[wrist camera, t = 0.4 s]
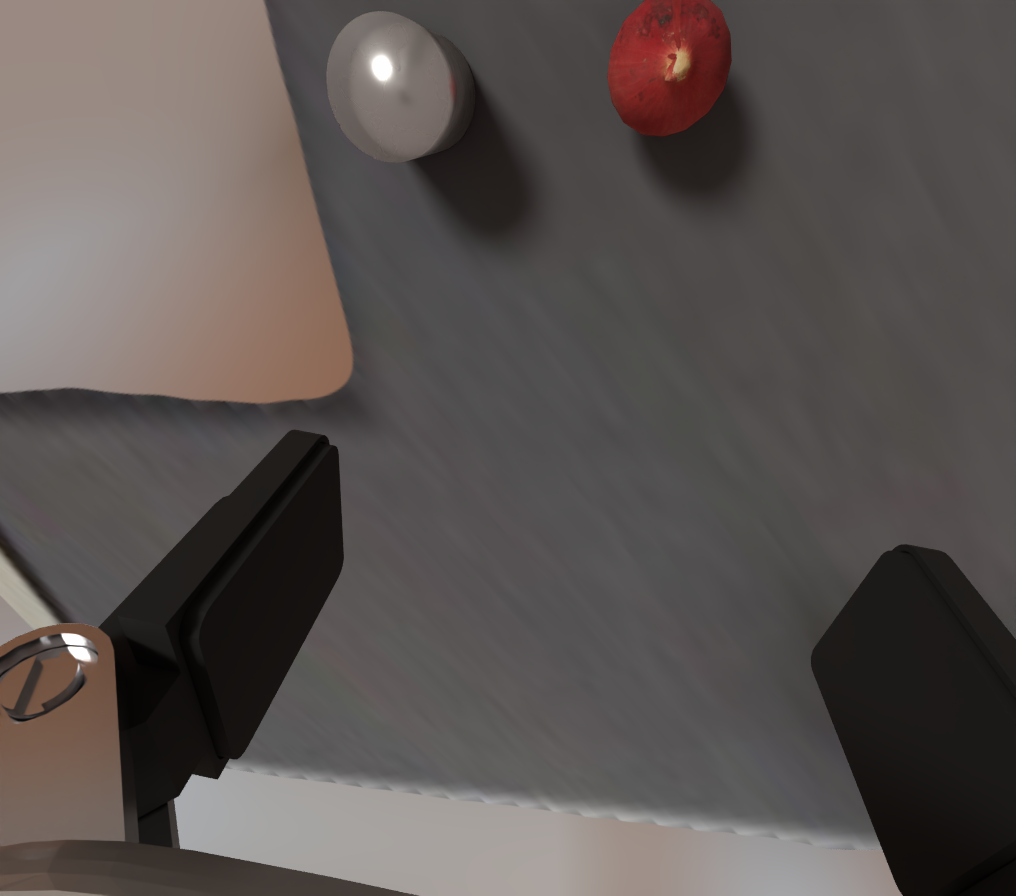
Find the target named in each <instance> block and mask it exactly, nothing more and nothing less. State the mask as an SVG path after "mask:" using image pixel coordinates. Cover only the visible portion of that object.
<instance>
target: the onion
mask: <svg viewBox="0 0 1016 896" xmlns="http://www.w3.org/2000/svg"><path fill="white" fill-rule="evenodd" d="M731 61H732V59H731V38H730V32H729V29H728V27H727V24H726V22H725V19H724V16H723V14H722V11H721V10H720V9H719V8H718V7H717V6H716V5H715V4H713V3H712V2H711V1H710V0H645V1H644V2H643V3H642V4H641V5H640V6H639V7H638V8H637V9H636V10H635V11H634V12H633V13H632V14H631V15H630V16H629V17H628V18H627V19H626V20H625V21H624V22H623V24H622V27H621V29H620V31H619V33H618V35H617V38H616V40H615V42H614V44H613V46H612V49H611V54H610V61H609V68H608V75H607V78H608V84H609V89H610V95H611V100H612V103H613V105H614V107H615V108H616V110H617V112H618V114H619V115H620V117H621V119H622V121H623V122H624V123H625V124H627V125H628V126H630V127H631V128H633V129H634V130H636V131H637V132H639V133H640V134H642V135H652V136H661V137H664V136H667V135H671V134H674V133H677V132H681V131H684V130H686V129H687V128H689V127H690V126H691V125H693V124H694V123H695V122H696V121H698V120H699V119H700V118H702V117H703V116H704V115H706V114H707V113H708V112H709V110H710V109H711V107H712V106H713V105H714V103H715V102H716V100H717V99H718V97H719V96H720V94H721V93H722V91H723V90H724V87H725V84H726V80H727V76H728V73H729V69H730V65H731Z"/></svg>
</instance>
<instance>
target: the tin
mask: <svg viewBox="0 0 1016 896" xmlns="http://www.w3.org/2000/svg"><path fill="white" fill-rule="evenodd" d="M327 91H328V96H329V101H330V105H331V108H332V111H333V113H334V116H335V118H336V120H337V122H338V124H339V126H340V128H341V129H342V131H343V132H344V134H345V135H346V136H347V137H348V139H349V140H350V141H351V142H352V143H353V144H354V145H355V146H356V147H357V148H359V149H360V150H361V151H363V152H364V153H366V154H367V155H369V156H371V157H373V158H375V159H378V160H381V161H385V162H393V163H395V162H405V161H409V160H413V159H416V158H420V157H424V156H427V155H431V154H434V153H438V152H441V151H444V150H447V149H448V148H450V147H452V146H453V145H455V144H456V143H457V142H458V141H459V140H460V139H461V138H462V137H463V135H464V134H465V133H466V131H467V129H468V128H469V126H470V123H471V121H472V118H473V114H474V109H475V100H476V94H475V84H474V79H473V76H472V72H471V70H470V67H469V65H468V63H467V61H466V59H465V57H464V56H463V54H462V53H461V52H460V50H459V49H458V48H457V47H456V46H455V45H454V44H453V43H452V42H451V41H449V40H448V39H446V38H445V37H443V36H441V35H439V34H437V33H435V32H433V31H431V30H429V29H427V28H425V27H423V26H421V25H419V24H417V23H415V22H413V21H411V20H409V19H407V18H405V17H403V16H401V15H398V14H395V13H391V12H385V11H376V12H370V13H366V14H363V15H361V16H359V17H357V18H355V19H354V20H352V21H351V22H349V23H348V24H347V25H346V26H345V27H344V28H343V30H342V31H341V32H340V34H339V35H338V37H337V38H336V40H335V42H334V44H333V47H332V49H331V52H330V55H329V59H328V65H327Z"/></svg>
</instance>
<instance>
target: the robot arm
mask: <svg viewBox="0 0 1016 896" xmlns="http://www.w3.org/2000/svg"><path fill="white" fill-rule="evenodd" d="M343 560H344V552H343V532H342V513H341V493H340V473H339V454H338V449H337V447H336V446H333V445H330V444H329V440H328V438H327V437H326V436H325V435H320V434H315V433H310V432H304V431H299V430H291V431H289V432H288V433H287V434H286V435H285V436H284V437H283V438H282V439H281V440H280V441H279V443H278V444H277V445H276V446H275V447H274V448H273V449H272V450H271V451H270V452H269V453H268V454H267V455H266V457H265V458H264V459H263V460H262V461H261V462H260V463H259V464H258V465H257V466H256V467H255V468H254V469H253V471H252V472H251V473H250V474H249V475H248V476H247V477H246V478H245V479H244V480H243V481H242V482H241V483H240V485H239V486H238V487H237V488H236V489H235V490H234V491H233V492H232V493H231V494H230V495H229V496H226V497H223V498H222V499H220V500H219V501H218V502H217V503H216V504H215V505H214V506H213V507H212V508H211V509H210V510H209V511H208V512H207V513H206V514H205V515H204V516H203V517H202V518H201V519H200V520H199V522H198V523H197V524H196V525H195V526H194V527H193V528H192V529H191V530H190V531H189V532H188V533H187V534H186V535H185V536H184V537H183V538H182V540H181V541H180V542H179V543H178V544H177V545H176V546H175V547H174V548H173V549H172V550H171V551H170V552H169V553H168V554H167V555H166V556H165V557H164V559H163V560H162V561H161V562H160V563H159V564H158V565H157V566H156V567H155V568H154V569H153V570H152V571H151V572H150V573H149V574H148V575H147V577H146V578H145V579H144V580H143V581H142V582H141V583H140V584H139V585H138V586H137V587H136V588H135V589H134V590H133V591H132V592H131V593H130V595H129V596H128V597H127V598H126V599H125V600H124V601H123V602H122V603H121V604H120V605H119V606H118V607H117V608H116V609H115V610H114V611H113V613H112V614H111V615H110V616H109V617H108V618H107V619H106V620H105V621H104V622H103V623H102V624H101V625H100V626H99V627H98V628H96V627H93V626H90V625H86V624H83V623H62V624H57V625H52V626H47V627H42V628H39V629H36V630H33V631H31V632H28V633H26V634H23V635H20V636H18V637H15V638H14V639H12V640H10V641H8V642H7V643H5V644H3V645H1V646H0V896H417V895H413V894H408V893H403V892H398V891H394V890H389V889H385V888H380V887H375V886H371V885H366V884H361V883H356V882H351V881H347V880H342V879H338V878H333V877H328V876H323V875H318V874H313V873H307V872H302V871H297V870H292V869H286V868H281V867H276V866H271V865H266V864H261V863H256V862H250V861H245V860H240V859H235V858H230V857H224V856H219V855H214V854H208V853H204V852H198V851H193V850H185V849H180V845H179V837H178V829H177V821H176V813H175V805H174V798H176V797H178V796H179V795H180V793H181V792H182V790H183V788H184V787H185V785H186V783H187V782H188V780H189V778H190V777H191V775H192V774H195V775H199V776H203V777H208V778H213V779H218V778H219V776H220V775H221V773H222V771H223V769H224V767H225V766H226V764H227V762H228V760H229V758H230V759H238V758H239V757H241V756H242V754H243V753H244V752H245V750H246V748H247V747H248V745H249V743H250V741H251V739H252V738H253V736H254V734H255V732H256V730H257V728H258V726H259V725H260V723H261V721H262V719H263V717H264V715H265V713H266V712H267V710H268V708H269V706H270V704H271V702H272V700H273V698H274V697H275V695H276V693H277V691H278V689H279V687H280V685H281V684H282V682H283V680H284V678H285V676H286V674H287V672H288V670H289V669H290V667H291V665H292V663H293V661H294V659H295V657H296V656H297V654H298V652H299V650H300V648H301V646H302V644H303V643H304V641H305V639H306V637H307V635H308V633H309V631H310V629H311V628H312V626H313V624H314V622H315V620H316V618H317V616H318V615H319V613H320V611H321V609H322V607H323V605H324V603H325V602H326V600H327V598H328V596H329V594H330V592H331V590H332V588H333V587H334V585H335V583H336V581H337V579H338V577H339V575H340V572H341V569H342V566H343ZM811 667H812V670H813V673H814V676H815V678H816V681H817V684H818V686H819V689H820V691H821V694H822V696H823V699H824V701H825V704H826V707H827V709H828V712H829V714H830V717H831V719H832V722H833V724H834V727H835V730H836V732H837V735H838V737H839V740H840V742H841V745H842V747H843V750H844V753H845V755H846V758H847V760H848V763H849V765H850V768H851V770H852V773H853V776H854V778H855V781H856V783H857V786H858V788H859V791H860V793H861V796H862V799H863V801H864V804H865V806H866V809H867V811H868V814H869V816H870V819H871V822H872V824H873V827H874V829H875V832H876V834H877V837H878V840H879V842H880V845H881V847H882V850H883V852H884V855H885V857H886V860H887V863H888V865H889V868H890V870H891V873H892V875H893V878H894V880H895V883H896V885H897V887H898V889H899V891H900V892H901V894H902V895H903V896H1016V639H1015V638H1014V637H1013V636H1012V634H1011V633H1010V632H1009V631H1008V629H1007V628H1006V627H1005V626H1004V624H1003V623H1002V622H1001V620H1000V619H999V618H998V617H997V615H996V614H995V613H994V612H993V610H992V609H991V608H990V607H989V605H988V604H987V603H986V602H985V600H984V599H983V598H982V597H981V595H980V594H979V593H978V592H977V590H976V589H975V588H974V586H973V585H972V584H971V583H970V581H969V580H968V579H967V578H966V576H965V575H964V574H963V573H962V571H961V570H960V569H959V568H958V566H957V565H956V564H955V563H954V561H953V560H952V559H951V558H950V557H949V556H948V555H947V554H946V553H944V552H942V551H939V550H934V549H928V548H923V547H918V546H912V545H907V544H905V545H899V546H897V547H895V548H894V549H893V550H892V551H887V552H885V553H883V554H882V555H881V557H880V558H879V559H878V561H877V562H876V563H875V565H874V566H873V568H872V569H871V570H870V572H869V573H868V575H867V576H866V577H865V579H864V580H863V581H862V583H861V584H860V586H859V587H858V588H857V590H856V591H855V592H854V594H853V595H852V597H851V598H850V599H849V601H848V602H847V604H846V605H845V606H844V608H843V609H842V610H841V612H840V613H839V615H838V616H837V617H836V619H835V620H834V621H833V623H832V624H831V626H830V627H829V628H828V630H827V631H826V633H825V634H824V635H823V637H822V638H821V639H820V641H819V642H818V644H817V645H816V646H815V648H814V650H813V652H812V656H811Z"/></svg>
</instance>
